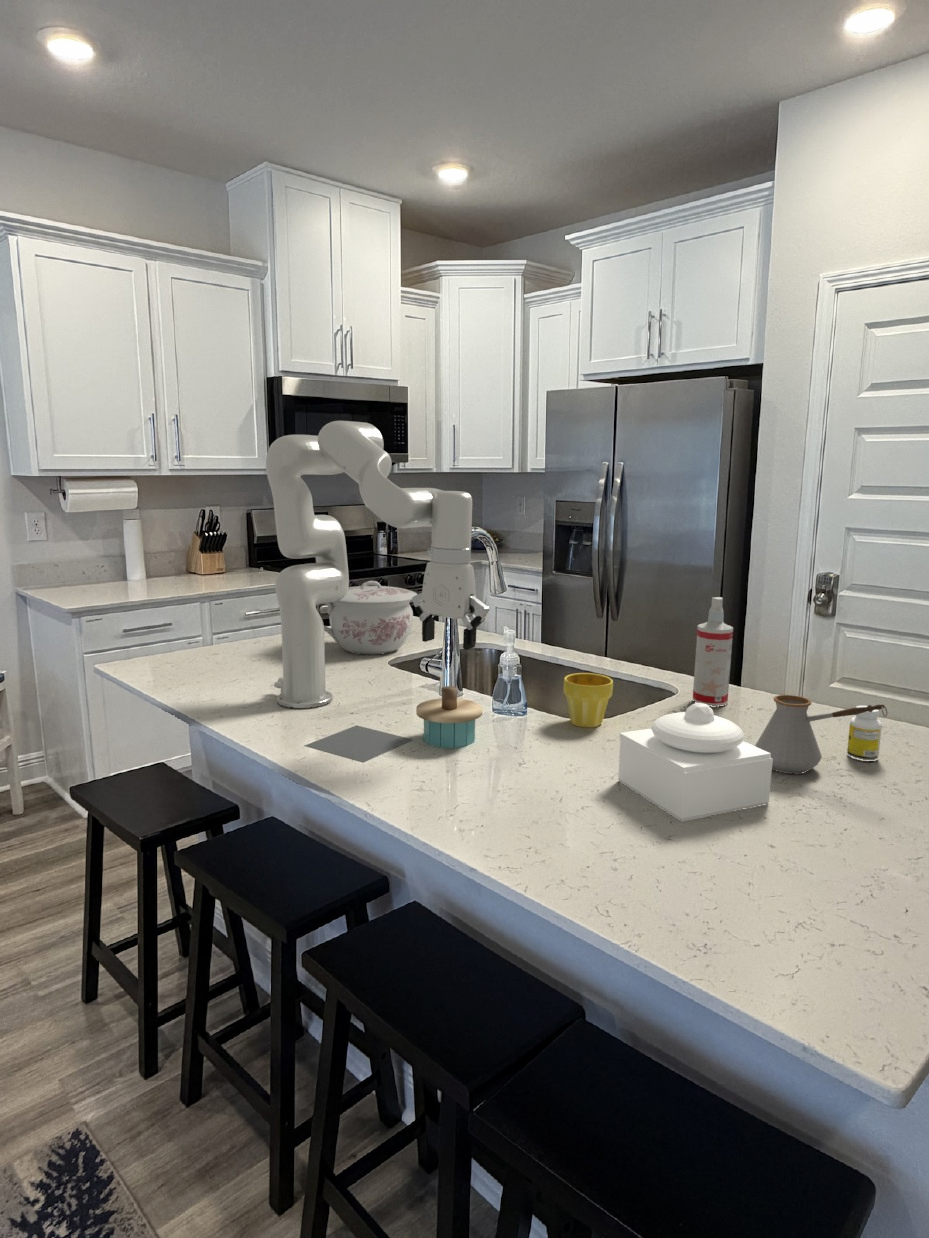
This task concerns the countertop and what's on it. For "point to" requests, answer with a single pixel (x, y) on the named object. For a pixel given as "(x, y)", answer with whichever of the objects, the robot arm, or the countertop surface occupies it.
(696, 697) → the spray bottle
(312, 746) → the mat
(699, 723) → the white square canister
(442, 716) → the lid
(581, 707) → the plant pot
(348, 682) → the countertop surface
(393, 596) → the chamber pot
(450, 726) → the bowl
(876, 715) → the supplement bottle
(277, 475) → the robot arm
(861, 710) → the coffee pot
